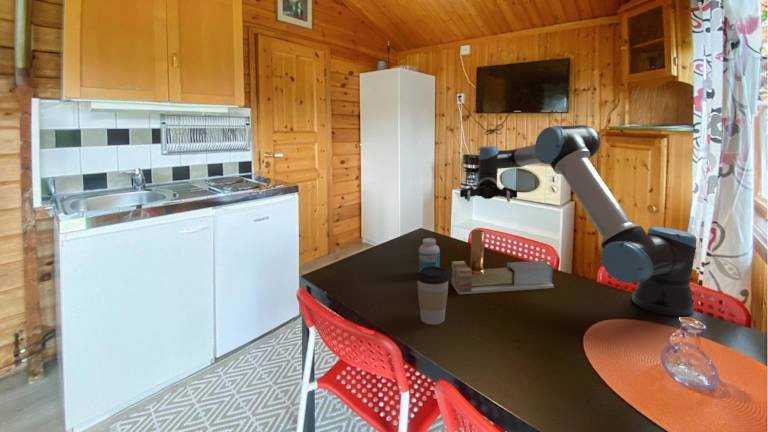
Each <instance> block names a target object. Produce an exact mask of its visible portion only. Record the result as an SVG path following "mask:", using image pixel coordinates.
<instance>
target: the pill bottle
mask: <svg viewBox="0 0 768 432" xmlns="http://www.w3.org/2000/svg"><path fill="white" fill-rule="evenodd" d="M436 242H437V240H436V239H435V238H432V237H428V238H427V237H426V238H423V239H422V244H421V245H420V246H419V248H418V273H419V272H420V271H421V270H422V269H423V268H425V267H431V266H434V267H440V266H441V265H440V262H441V261H440V257H441V256H440V255H441V254H440V253H441V251H440V247H439V246H438V245H437V244H436ZM440 268H441V267H440Z"/></svg>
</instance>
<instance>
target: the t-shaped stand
mask: <svg viewBox="0 0 768 432" xmlns="http://www.w3.org/2000/svg"><path fill="white" fill-rule="evenodd" d="M470 237H471V240H470V241H471V242H470V243H471V244H470V267H469V268H470V269H471V270H472V282H471V286H480V285H495V284H510V283H513V282H514V271H513V270H512V269H511V268H507V267H499V268H484V252H485V251H484V250H485V247H484V245H485V231H484V230H483V229H473V230H471V236H470Z"/></svg>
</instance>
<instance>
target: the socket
mask: <svg viewBox="0 0 768 432" xmlns="http://www.w3.org/2000/svg"><path fill="white" fill-rule="evenodd" d="M470 268H471V267H469V265H468V264H467V263H466V262H465V260H458V261H457V260H456V261H451V283H452V282H453V284H454V285H455V287H456V288H457V290H458V291H459V292H461V291H468V292H469V291H471V282H472V270H471V269H470Z"/></svg>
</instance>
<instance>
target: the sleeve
mask: <svg viewBox="0 0 768 432" xmlns="http://www.w3.org/2000/svg"><path fill="white" fill-rule="evenodd" d="M506 268H511V269H512V270H513V271H514V282H513V285H514V286H526V285H540V284H553V275H554V267H553V266H552V265H550V264H549V263H547V262H546V261H545V260H532V261H531V260H530V261H529V260H527V261H517V262H516V261H515V262H507V263H506Z"/></svg>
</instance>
